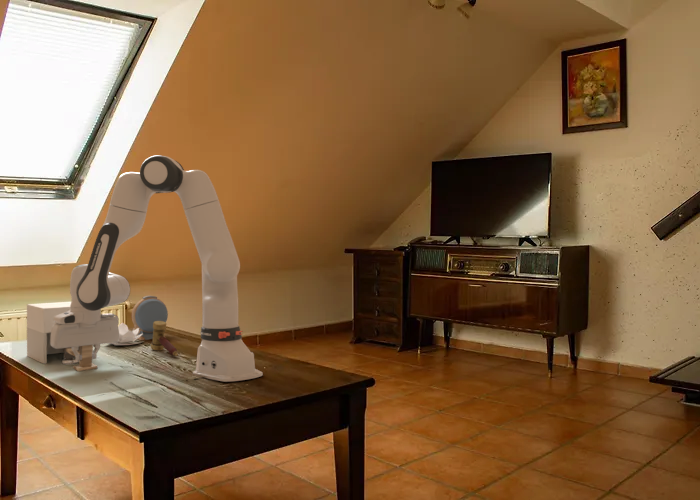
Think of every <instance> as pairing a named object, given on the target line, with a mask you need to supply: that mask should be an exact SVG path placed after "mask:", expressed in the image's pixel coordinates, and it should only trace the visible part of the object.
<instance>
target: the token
mask: <svg viewBox="0 0 700 500" xmlns="http://www.w3.org/2000/svg"><path fill="white" fill-rule="evenodd" d="M61 364H62V365H65V366H69V365H78V364H79V361H76V360H75V357H73V358H69V359H64V358H63V359H62V361H61Z"/></svg>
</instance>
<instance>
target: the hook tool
mask: <svg viewBox="0 0 700 500" xmlns="http://www.w3.org/2000/svg"><path fill="white" fill-rule="evenodd" d="M77 352H78V353H79V354H81V355H82V360H81V361H79V363H78V364H75V365H73V369H74V370H75V371H77V372H81V371H88V370H97V369H98V368H99V367H98V365H97V364H95V363H93V359H92V345H86V346H80V352H79V351H77ZM74 357H75V354H74V353H73V351H72V347H68V348H64V352H63V359H69V358H74Z"/></svg>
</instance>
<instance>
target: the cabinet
mask: <svg viewBox="0 0 700 500" xmlns="http://www.w3.org/2000/svg"><path fill="white" fill-rule="evenodd" d="M70 305H71V301H58V302H42V303H28V304H26V356H27V357H28V358H31V359H33V360H35V361H37V362H39V363H41V364H43V365H44V364H47V363H48V362H47V361H48V359H47V357H48V356H47V355H52V354H54V355H55V354H60V353H61V354H64V348H59V349H55V348H53V347H52V346H51V344H50V339H51V330H52V327H53V325H54V324H56V322H54V317H55V316H56V315H59V314H61V313H64V312H67V311H69V310H70ZM93 350H94V347H93V345H92V352H93ZM77 351H79V352H80V346H78V350H77Z"/></svg>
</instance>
